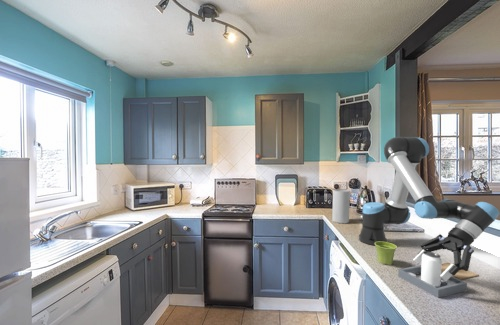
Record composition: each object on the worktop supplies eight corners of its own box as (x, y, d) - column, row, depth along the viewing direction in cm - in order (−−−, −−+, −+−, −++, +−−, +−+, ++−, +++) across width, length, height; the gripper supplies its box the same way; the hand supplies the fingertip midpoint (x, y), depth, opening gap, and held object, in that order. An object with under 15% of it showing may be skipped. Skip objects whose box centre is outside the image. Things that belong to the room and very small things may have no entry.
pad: (430, 266, 110) (430, 265, 110) (448, 263, 113) (448, 262, 113) (460, 279, 98) (460, 278, 98) (478, 275, 102) (478, 274, 102)
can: (421, 277, 100) (422, 249, 100) (440, 282, 96) (441, 254, 96) (420, 283, 95) (421, 254, 95) (440, 289, 91) (441, 259, 91)
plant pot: (387, 268, 108) (388, 249, 107) (369, 259, 116) (370, 242, 116) (400, 264, 111) (401, 247, 111) (382, 256, 120) (383, 240, 120)
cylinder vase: (352, 222, 182) (353, 191, 181) (340, 224, 177) (341, 191, 176) (340, 218, 193) (340, 188, 193) (328, 220, 188) (329, 189, 187)
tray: (398, 276, 101) (398, 269, 101) (424, 271, 106) (424, 264, 106) (437, 297, 85) (438, 289, 85) (466, 290, 90) (466, 283, 90)
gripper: (504, 252, 83) (463, 294, 83) (443, 230, 108) (411, 262, 108) (491, 237, 83) (450, 279, 82) (432, 218, 108) (400, 251, 107)
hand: (428, 269), depth 95 cm, fingers open, 13 cm apart
